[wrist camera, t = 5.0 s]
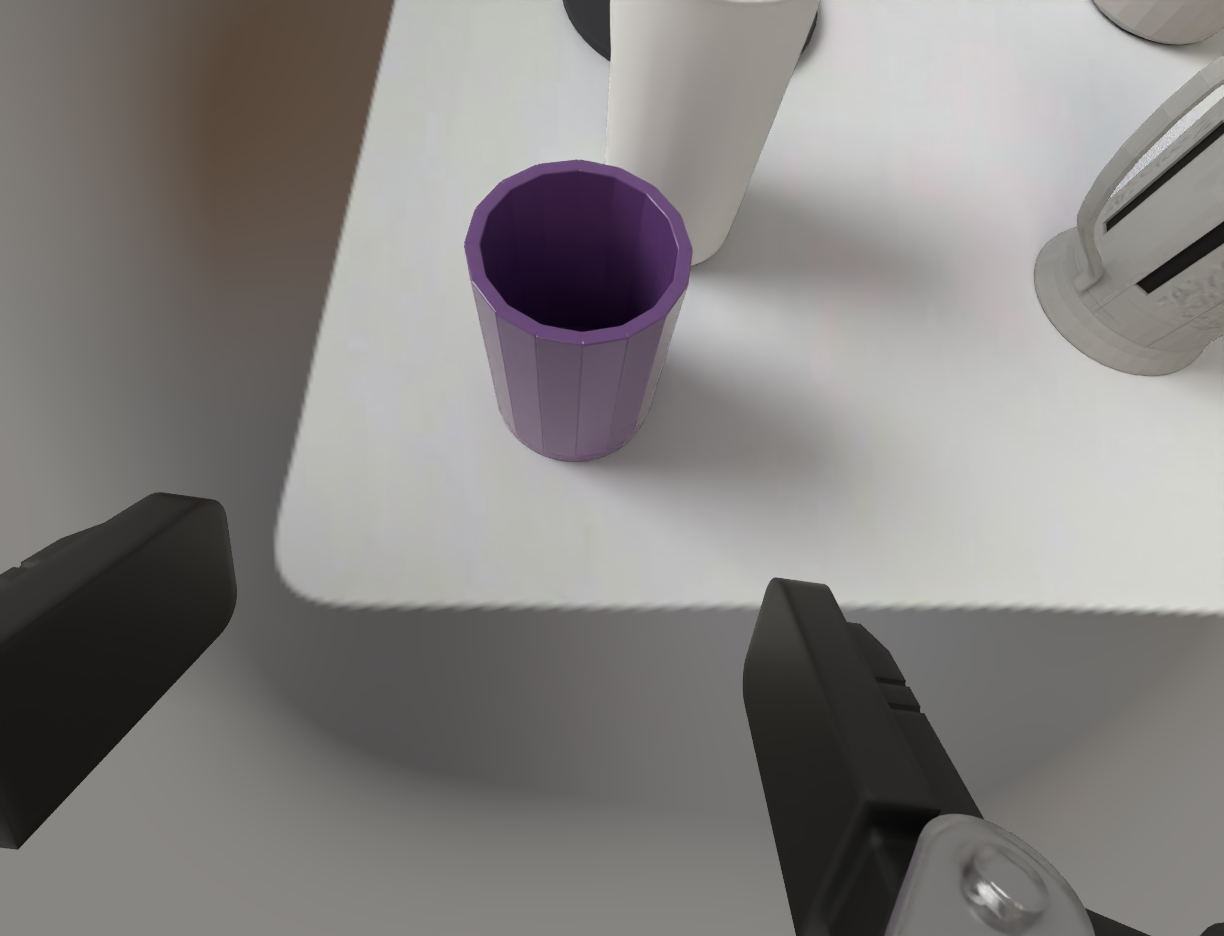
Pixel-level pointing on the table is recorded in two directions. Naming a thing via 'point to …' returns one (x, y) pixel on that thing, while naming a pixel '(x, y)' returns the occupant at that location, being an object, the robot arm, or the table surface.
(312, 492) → the table surface
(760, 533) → the table surface
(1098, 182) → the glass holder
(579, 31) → the mat
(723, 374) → the table surface
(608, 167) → the cup
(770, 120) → the mug
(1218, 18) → the potted plant
